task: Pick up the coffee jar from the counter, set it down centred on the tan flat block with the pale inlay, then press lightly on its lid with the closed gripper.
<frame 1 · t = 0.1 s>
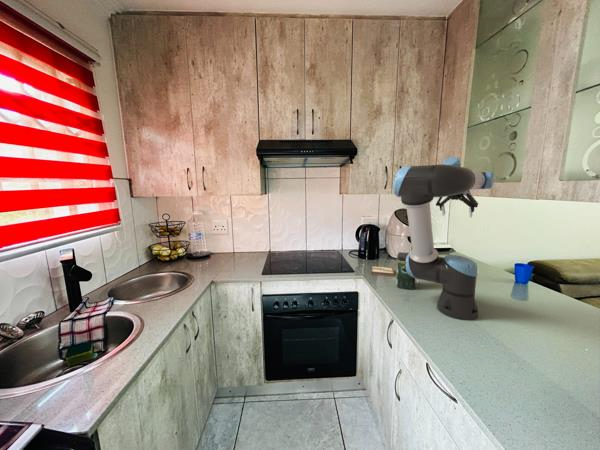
hand: (457, 214, 144), 36 cm above the worktop, tool tilted 35°, fingers open, 13 cm apart
tan flat block: (382, 272, 155), on the worktop
coffee jar: (405, 287, 133), on the worktop
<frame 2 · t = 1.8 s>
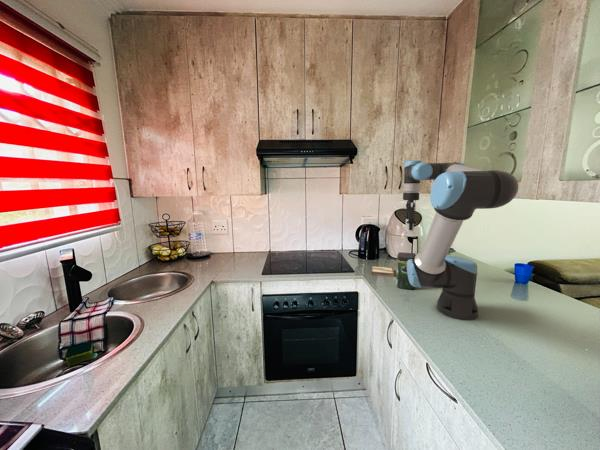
hand: (408, 233, 129), 29 cm above the worktop, tool pointing down, fingers open, 13 cm apart
nothing on the worktop moved.
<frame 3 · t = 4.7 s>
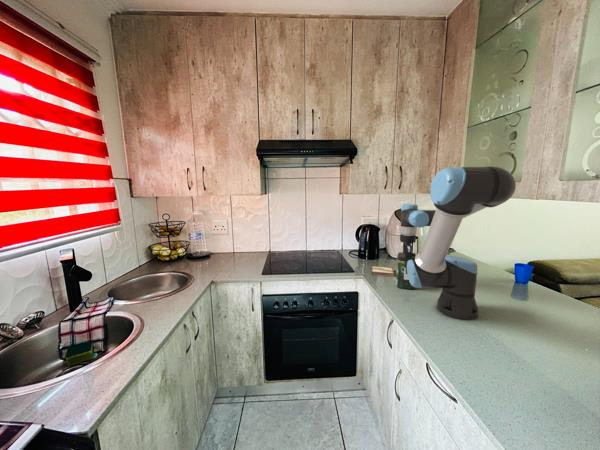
hand: (405, 276, 132), 6 cm above the worktop, tool pointing down, fingers closed on coffee jar, 8 cm apart
coffee jar: (405, 287, 133), on the worktop, touching gripper
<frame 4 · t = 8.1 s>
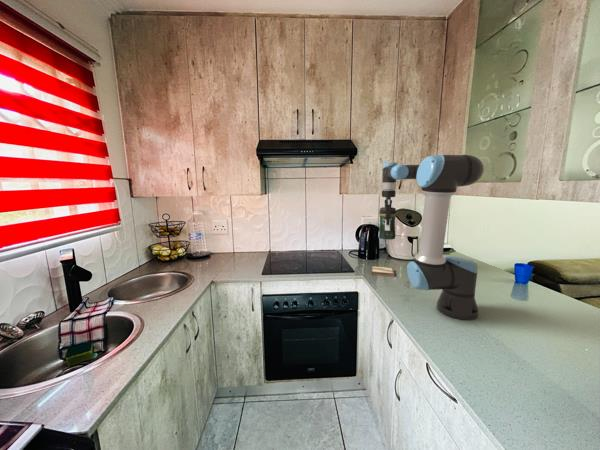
hand: (386, 228, 147), 28 cm above the worktop, tool pointing down, fingers closed on coffee jar, 8 cm apart
coffee jar: (386, 238, 148), point 22 cm above the worktop, touching gripper
when the fingers open (9 cm above the worktop, at t = 11.5 s): coffee jar stays where it is, resting on tan flat block.
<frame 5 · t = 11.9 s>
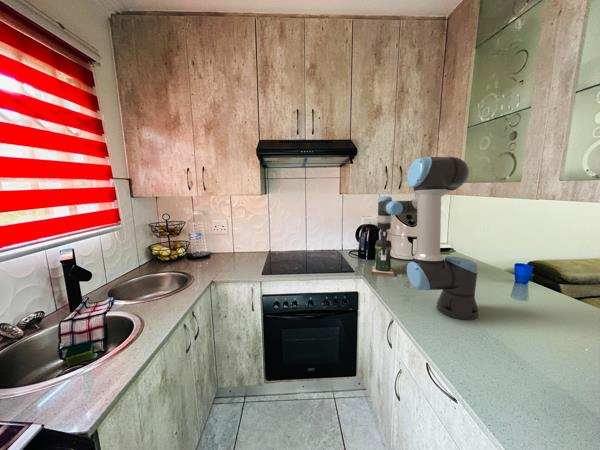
hand: (382, 256, 153), 10 cm above the worktop, tool pointing down, fingers open, 12 cm apart
coffee jar: (382, 269, 154), point 2 cm above the worktop, touching tan flat block
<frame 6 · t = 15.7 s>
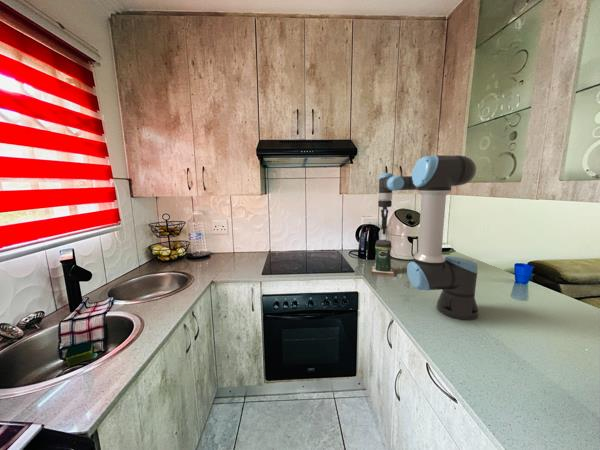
hand: (383, 239, 151), 21 cm above the worktop, tool pointing down, fingers closed
nothing on the worktop moved.
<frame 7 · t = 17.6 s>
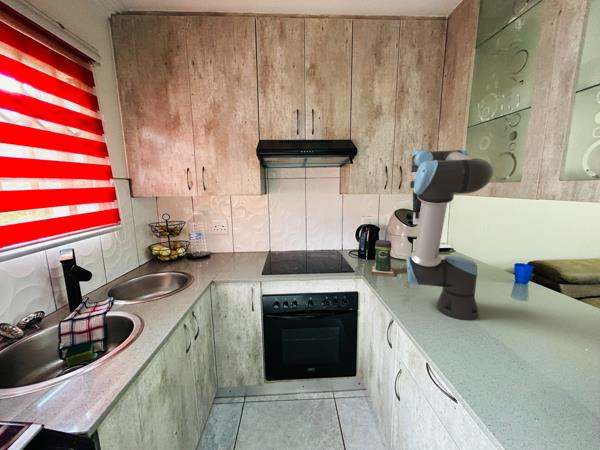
hand: (415, 224, 137), 32 cm above the worktop, tool pointing down, fingers closed
nothing on the worktop moved.
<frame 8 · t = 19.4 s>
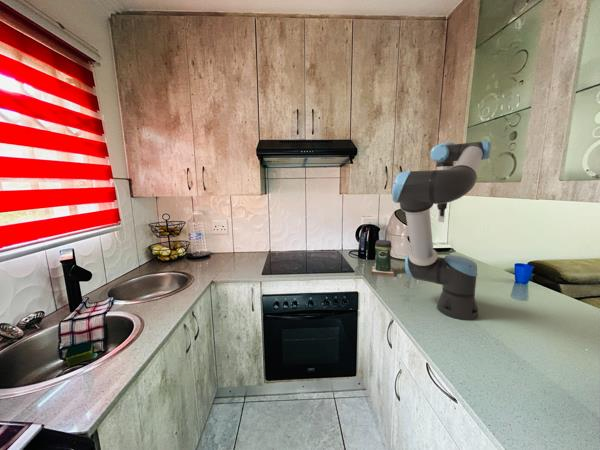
hand: (440, 222, 129), 34 cm above the worktop, tool pointing down, fingers closed
nothing on the worktop moved.
at the end: coffee jar 0.1 cm off-centre on the tan flat block, point 1.7 cm above the tan flat block's base; coffee jar tilted 0°; the gripper is holding nothing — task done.
